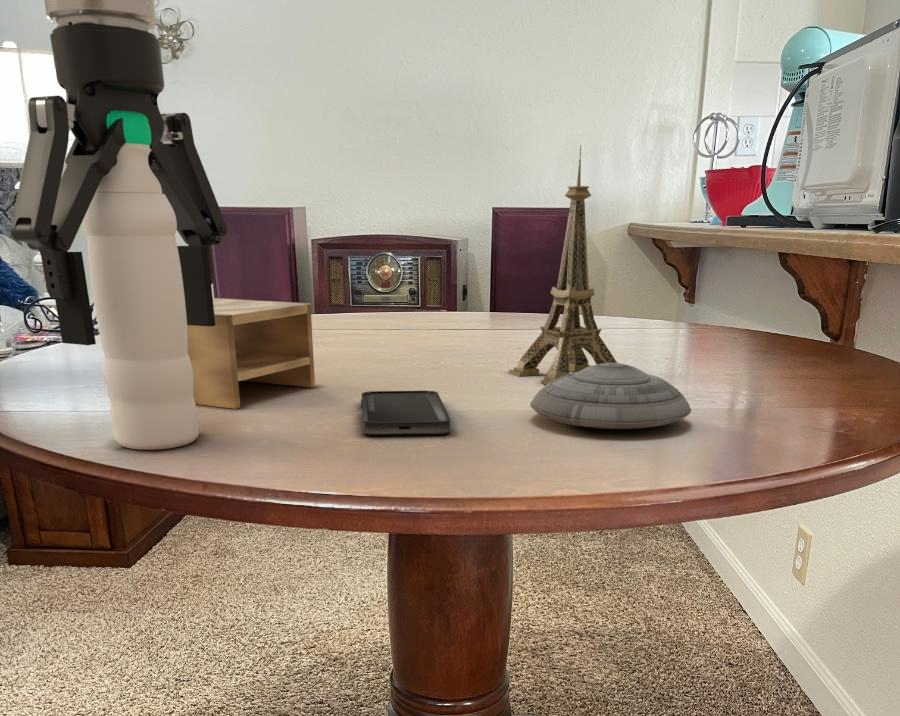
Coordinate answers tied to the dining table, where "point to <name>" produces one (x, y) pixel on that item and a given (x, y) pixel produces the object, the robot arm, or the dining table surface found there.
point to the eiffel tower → (569, 305)
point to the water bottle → (140, 299)
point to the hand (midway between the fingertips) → (144, 334)
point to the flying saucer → (611, 399)
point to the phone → (404, 413)
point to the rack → (250, 349)
